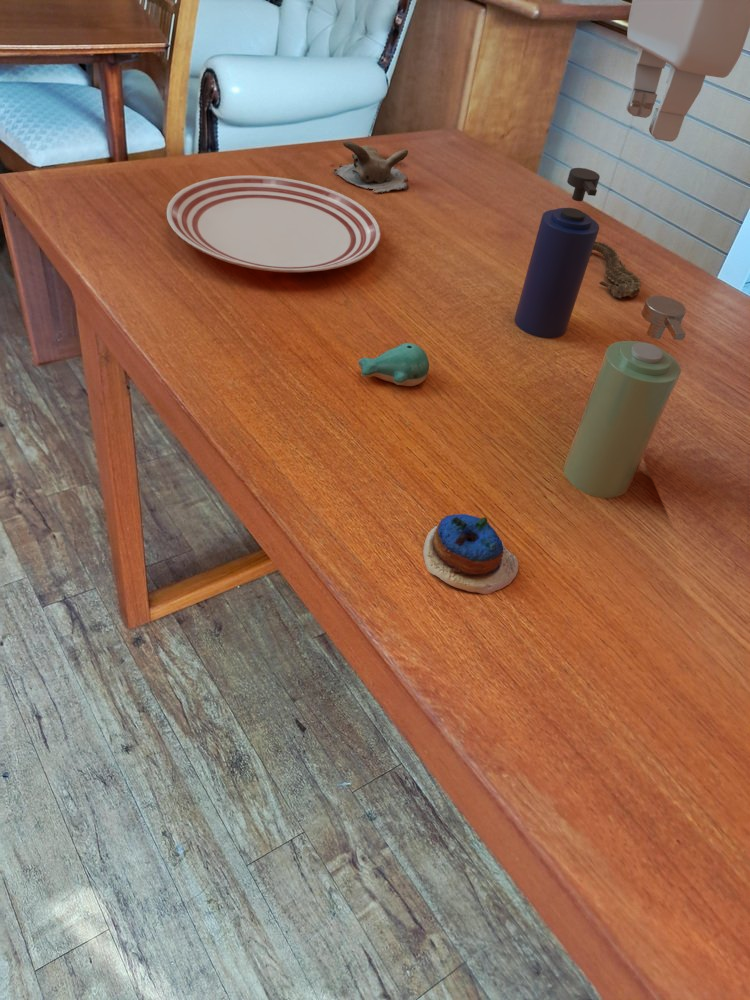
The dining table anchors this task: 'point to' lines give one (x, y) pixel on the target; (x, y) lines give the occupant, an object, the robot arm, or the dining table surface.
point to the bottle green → (620, 417)
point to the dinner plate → (273, 223)
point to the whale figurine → (398, 365)
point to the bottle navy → (555, 272)
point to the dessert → (469, 555)
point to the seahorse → (617, 273)
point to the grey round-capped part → (664, 317)
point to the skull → (373, 169)
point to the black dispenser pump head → (583, 182)
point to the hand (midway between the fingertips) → (648, 126)
